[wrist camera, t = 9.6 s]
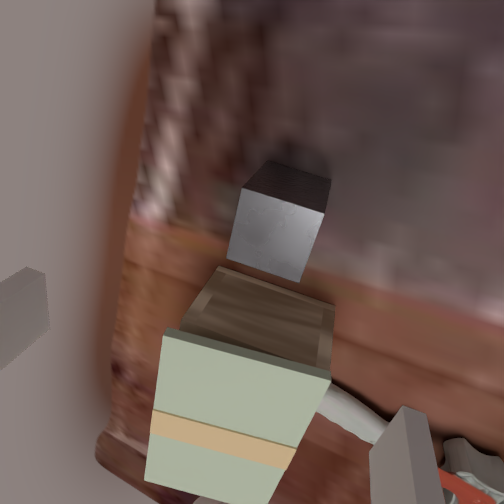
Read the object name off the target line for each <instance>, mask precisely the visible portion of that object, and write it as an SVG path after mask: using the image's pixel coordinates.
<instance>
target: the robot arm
mask: <svg viewBox="0 0 504 504" xmlns="http://www.w3.org/2000/svg"><path fill="white" fill-rule="evenodd" d="M49 329H50V324H49V313H48V302H47V291H46V281H45V273H42V272H39V271H37V270H33V269H31V268H28V267H25V268H24V269H22V270H20V271H19V272H17V273H15V274H14V275H12V276H11V277H9V278H7V279H5V280H4V281H2V282H0V371H1V370H2V369H3V368H4V367H6V366H7V365H8V364H9V363H10V362H11V361H13V360H14V359H15V358H16V357H17V356H19V355H20V354H21V353H22V352H23V351H24V350H26V349H27V348H28V347H29V346H30V345H31V344H32V343H34V342H35V341H36V340H37V339H38V338H40V336H42V335H43V334H44V333H46V332H47V331H48V330H49ZM369 464H370V489H371V504H445V501H444V496H443V491H442V487H441V482H440V477H439V472H438V468H437V463H436V458H435V453H434V449H433V444H432V439H431V435H430V430H429V425H428V420H427V416H426V414H425V413H422V412H419V411H417V410H414V409H411V408H408V407H406V406H403V405H402V407H401V408H400V409H399V411H398V412H397V414H396V415H395V416H394V418H393V419H392V421H391V422H390V423H389V425H388V426H387V428H386V429H385V431H384V432H383V433H382V435H381V436H380V438H379V439H378V440H377V442H376V443H375V445H374V446H373V447H372V449H371V450H370V452H369Z"/></svg>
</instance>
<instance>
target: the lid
mask: <svg viewBox="0 0 504 504" xmlns="http://www.w3.org/2000/svg"><path fill="white" fill-rule="evenodd" d="M330 383H331V371H327V370H324V369H320V368H316V367H313V366H309V365H305V364H302V363H298V362H294V361H290V360H287V359H283V358H279V357H276V356H272V355H268V354H265V353H261V352H257V351H254V350H250V349H246V348H242V347H239V346H235V345H231V344H228V343H224V342H220V341H217V340H213V339H209V338H206V337H202V336H198V335H194V334H191V333H187V332H183V331H180V330H176V329H172V328H169V327H167V329H166V331H165V333H164V335H163V340H162V348H161V355H160V363H159V371H158V378H157V386H156V394H155V401H154V409H153V412H152V420H151V428H150V439H149V447H148V454H147V462H146V470H145V477H144V480H145V481H149V482H152V483H156V484H160V485H163V486H167V487H171V488H174V489H178V490H182V491H185V492H189V493H193V494H196V495H200V496H204V497H207V498H211V499H214V500H218V501H222V502H225V503H229V504H268V502H269V500H270V498H271V496H272V494H273V492H274V491H275V489H276V487H277V485H278V483H279V481H280V479H281V477H282V475H283V473H284V471H285V470H286V469H287V467H288V465H289V463H290V462H291V460H292V458H293V456H294V454H295V452H296V450H297V446H298V444H299V442H300V441H301V439H302V437H303V435H304V433H305V431H306V429H307V427H308V425H309V423H310V421H311V419H312V417H313V416H314V414H315V412H316V410H317V408H318V406H319V404H320V402H321V400H322V398H323V396H324V394H325V392H326V391H327V389H328V387H329V385H330Z"/></svg>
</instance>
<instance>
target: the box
mask: <svg viewBox="0 0 504 504" xmlns="http://www.w3.org/2000/svg"><path fill="white" fill-rule="evenodd" d="M334 317H335V306H334V305H331V304H328V303H325V302H322V301H319V300H317V299H314V298H311V297H308V296H305V295H302V294H299V293H296V292H293V291H291V290H288V289H285V288H282V287H279V286H276V285H273V284H270V283H268V282H265V281H262V280H259V279H256V278H253V277H250V276H247V275H244V274H242V273H239V272H236V271H233V270H230V269H227V268H224V267H221V266H218V267H217V269H216V270H215V272H214V273H213V274H212V276H211V277H210V279H209V280H208V282H207V283H206V285H205V286H204V287H203V289H202V290H201V292H200V293H199V295H198V296H197V297H196V299H195V300H194V302H193V303H192V305H191V306H190V308H189V309H188V310H187V312H186V313H185V315H184V316H183V318H182V319H181V324H180V331H183V332H187V333H191V334H194V335H198V336H202V337H206V338H209V339H213V340H217V341H220V342H224V343H228V344H231V345H235V346H239V347H242V348H246V349H250V350H254V351H257V352H261V353H265V354H268V355H272V356H276V357H279V358H283V359H287V360H290V361H294V362H298V363H302V364H305V365H309V366H313V367H316V368H320V369H324V370H327V371H330V363H331V352H332V340H333V328H334Z"/></svg>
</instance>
